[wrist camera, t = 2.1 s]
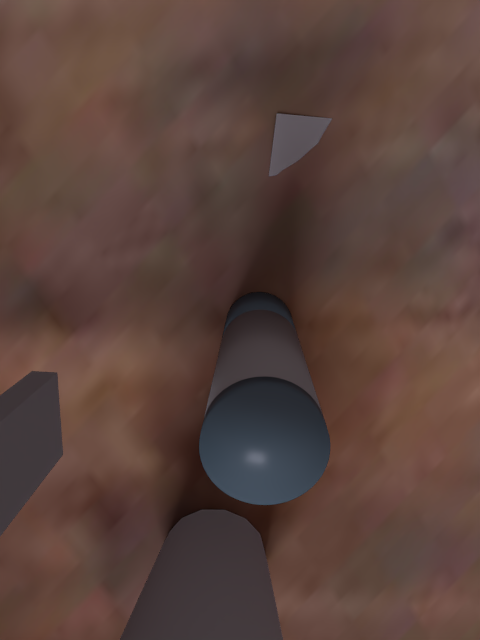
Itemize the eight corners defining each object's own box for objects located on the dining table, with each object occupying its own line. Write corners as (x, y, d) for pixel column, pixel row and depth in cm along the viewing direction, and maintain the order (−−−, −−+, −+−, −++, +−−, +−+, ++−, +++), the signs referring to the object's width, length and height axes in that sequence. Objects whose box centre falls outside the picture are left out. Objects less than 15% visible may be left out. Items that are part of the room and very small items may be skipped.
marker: (225, 354, 25) (197, 501, 13) (227, 290, 25) (200, 384, 12) (289, 357, 25) (324, 508, 13) (294, 293, 24) (336, 390, 12)
